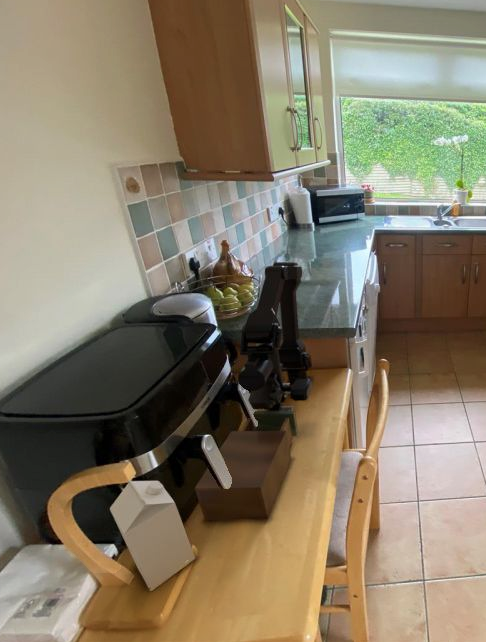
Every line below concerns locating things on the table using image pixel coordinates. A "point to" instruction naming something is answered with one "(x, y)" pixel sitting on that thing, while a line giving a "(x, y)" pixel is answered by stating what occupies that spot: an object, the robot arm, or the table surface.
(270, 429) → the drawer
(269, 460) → the brown wooden block
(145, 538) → the milk carton
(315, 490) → the table surface
